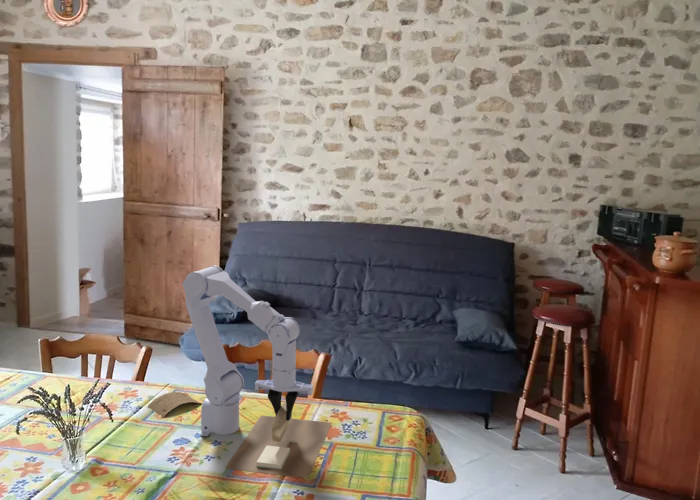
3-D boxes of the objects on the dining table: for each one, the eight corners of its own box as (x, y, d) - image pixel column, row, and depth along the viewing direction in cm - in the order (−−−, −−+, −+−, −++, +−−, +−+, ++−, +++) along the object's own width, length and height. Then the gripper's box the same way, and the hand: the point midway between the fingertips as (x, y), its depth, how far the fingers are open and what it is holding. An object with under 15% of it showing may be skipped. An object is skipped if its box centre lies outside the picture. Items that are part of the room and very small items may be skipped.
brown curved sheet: (161, 420, 168) (161, 411, 168) (142, 409, 175) (142, 400, 174) (205, 404, 179) (205, 396, 178) (186, 394, 186) (186, 386, 185)
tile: (266, 449, 151) (256, 466, 143) (266, 445, 151) (256, 462, 143) (290, 452, 150) (281, 469, 142) (290, 447, 150) (281, 464, 142)
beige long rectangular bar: (272, 441, 148) (271, 422, 147) (284, 418, 159) (284, 401, 158) (280, 442, 148) (279, 423, 147) (291, 419, 159) (291, 401, 157)
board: (224, 472, 142) (224, 468, 142) (261, 418, 170) (261, 415, 169) (308, 482, 139) (308, 478, 139) (331, 426, 166) (331, 422, 166)
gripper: (316, 364, 154) (315, 414, 157) (260, 359, 157) (260, 408, 159) (309, 374, 148) (308, 426, 150) (252, 369, 150) (252, 420, 152)
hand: (283, 418), depth 154 cm, fingers closed on beige long rectangular bar, 2 cm apart
